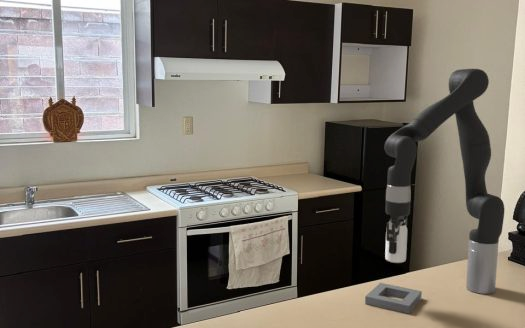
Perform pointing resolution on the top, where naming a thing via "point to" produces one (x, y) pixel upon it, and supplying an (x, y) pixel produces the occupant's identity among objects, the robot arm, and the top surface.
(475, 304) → the top surface
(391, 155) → the robot arm
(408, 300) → the socket plate
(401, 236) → the can
